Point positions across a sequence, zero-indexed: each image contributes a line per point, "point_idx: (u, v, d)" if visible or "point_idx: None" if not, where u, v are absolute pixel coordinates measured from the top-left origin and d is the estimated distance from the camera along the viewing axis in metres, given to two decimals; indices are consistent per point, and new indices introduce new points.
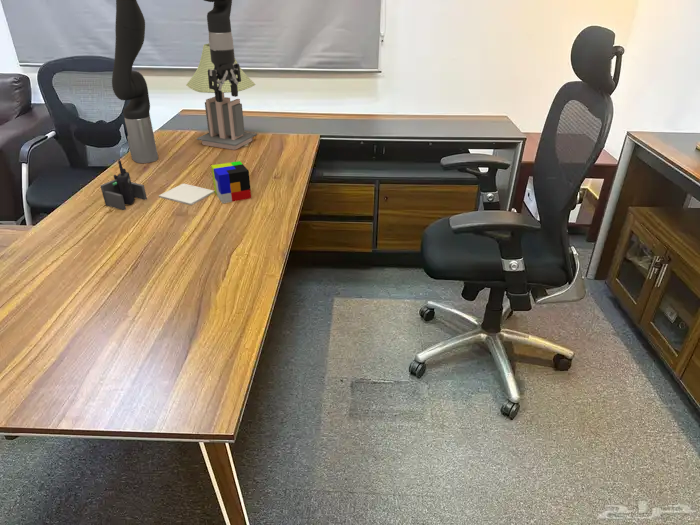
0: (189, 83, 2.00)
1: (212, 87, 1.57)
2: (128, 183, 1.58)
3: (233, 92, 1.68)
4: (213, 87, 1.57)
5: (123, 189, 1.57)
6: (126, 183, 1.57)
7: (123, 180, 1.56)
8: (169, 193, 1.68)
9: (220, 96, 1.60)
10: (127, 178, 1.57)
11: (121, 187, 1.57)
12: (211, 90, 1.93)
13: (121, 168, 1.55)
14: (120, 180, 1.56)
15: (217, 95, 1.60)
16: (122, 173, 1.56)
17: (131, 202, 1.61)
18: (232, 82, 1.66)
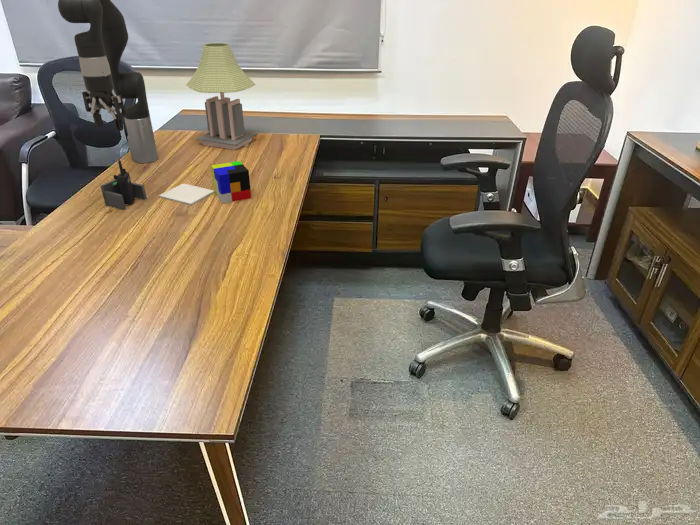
0: (189, 83, 2.00)
1: (122, 114, 1.44)
2: (128, 183, 1.58)
3: (99, 122, 1.50)
4: (124, 114, 1.45)
5: (123, 189, 1.57)
6: (126, 183, 1.57)
7: (123, 180, 1.56)
8: (169, 193, 1.68)
9: None
10: (127, 178, 1.57)
11: (121, 187, 1.57)
12: (211, 90, 1.93)
13: (121, 168, 1.55)
14: (120, 180, 1.56)
15: (121, 123, 1.47)
16: (122, 173, 1.56)
17: (131, 202, 1.61)
18: (95, 111, 1.48)
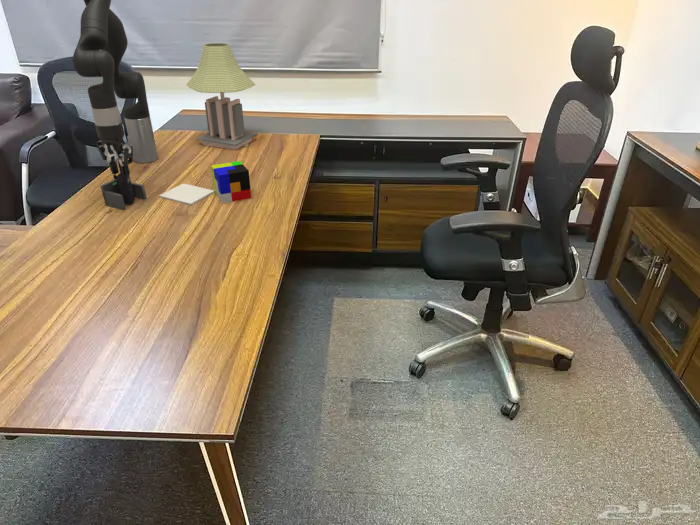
0: (189, 83, 2.00)
1: (129, 162, 1.53)
2: (128, 183, 1.58)
3: (115, 169, 1.57)
4: (130, 161, 1.53)
5: (123, 189, 1.57)
6: (126, 183, 1.57)
7: (123, 180, 1.56)
8: (169, 193, 1.68)
9: None
10: (127, 178, 1.57)
11: (121, 187, 1.57)
12: (211, 90, 1.93)
13: None
14: (120, 180, 1.56)
15: (127, 169, 1.55)
16: None
17: (131, 202, 1.61)
18: (111, 160, 1.55)
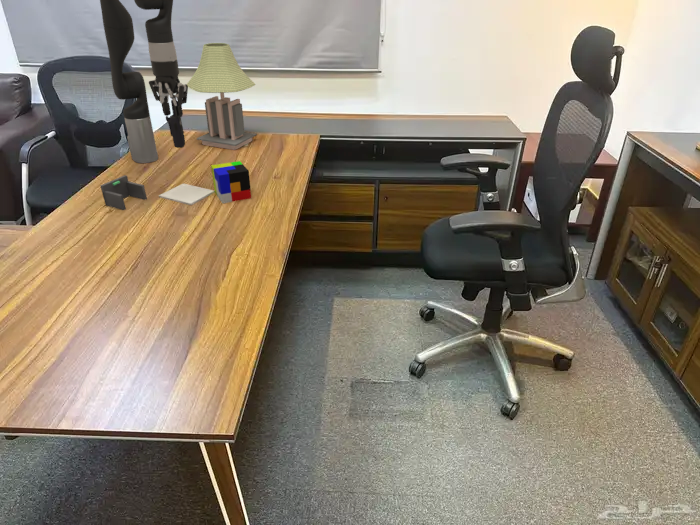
0: (189, 83, 2.00)
1: (183, 101, 1.50)
2: (180, 125, 1.55)
3: (167, 110, 1.54)
4: (184, 101, 1.50)
5: (175, 131, 1.54)
6: (178, 124, 1.54)
7: (176, 121, 1.53)
8: (169, 193, 1.68)
9: None
10: (179, 119, 1.54)
11: (173, 128, 1.54)
12: (211, 90, 1.93)
13: None
14: (173, 121, 1.53)
15: (181, 110, 1.52)
16: (174, 114, 1.53)
17: (182, 145, 1.58)
18: (164, 100, 1.53)
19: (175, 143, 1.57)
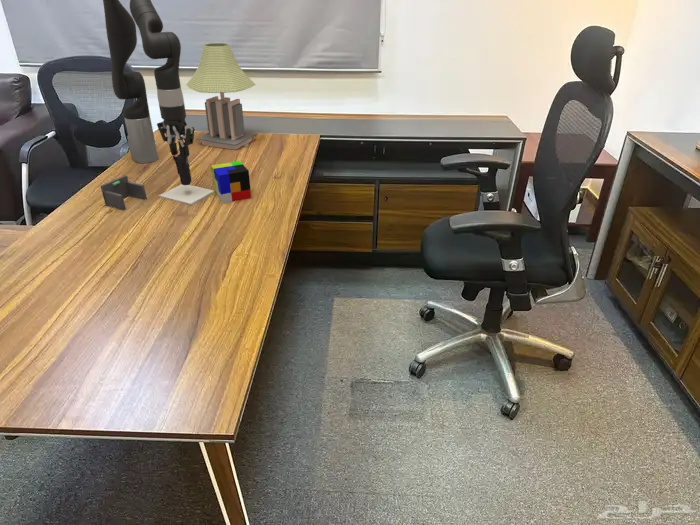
0: (189, 83, 2.00)
1: (190, 142, 1.57)
2: (187, 164, 1.62)
3: (174, 150, 1.61)
4: (191, 142, 1.57)
5: (182, 170, 1.61)
6: (185, 164, 1.61)
7: (182, 161, 1.60)
8: (169, 193, 1.68)
9: None
10: (186, 159, 1.61)
11: (180, 168, 1.61)
12: (211, 90, 1.93)
13: (181, 149, 1.59)
14: (180, 160, 1.60)
15: (187, 150, 1.59)
16: (181, 154, 1.60)
17: (189, 183, 1.65)
18: (171, 141, 1.59)
19: (182, 181, 1.64)
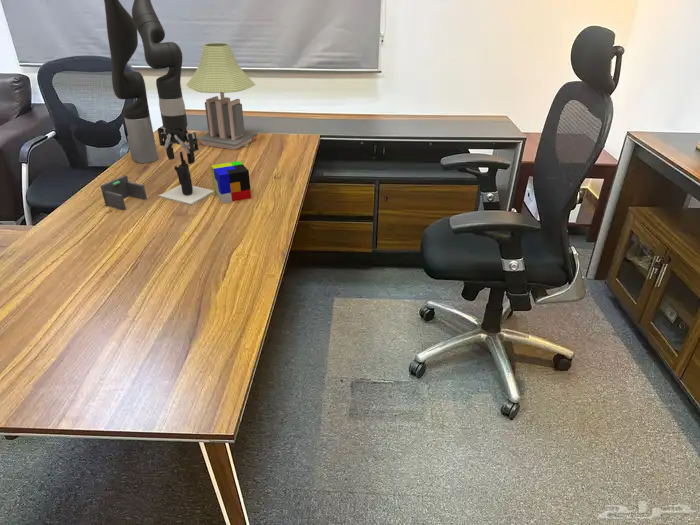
0: (189, 83, 2.00)
1: (195, 149, 1.57)
2: (188, 174, 1.64)
3: (171, 155, 1.63)
4: (196, 149, 1.57)
5: (183, 180, 1.63)
6: (186, 174, 1.63)
7: (184, 171, 1.62)
8: (169, 193, 1.68)
9: None
10: (187, 169, 1.63)
11: (182, 178, 1.63)
12: (211, 90, 1.93)
13: (182, 159, 1.61)
14: (181, 171, 1.62)
15: (193, 156, 1.59)
16: (183, 164, 1.62)
17: (190, 192, 1.67)
18: (168, 145, 1.61)
19: (183, 191, 1.66)
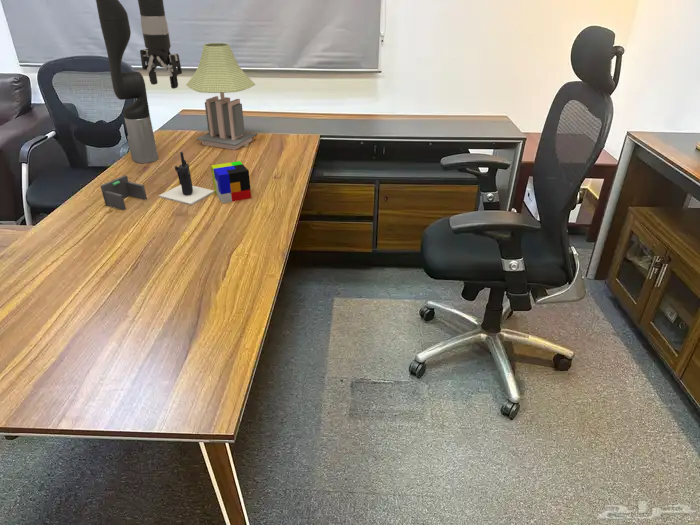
0: (189, 83, 2.00)
1: (178, 72, 1.54)
2: (188, 174, 1.64)
3: (154, 79, 1.59)
4: (180, 72, 1.54)
5: (184, 180, 1.63)
6: (187, 174, 1.63)
7: (184, 171, 1.62)
8: (169, 193, 1.68)
9: None
10: (188, 169, 1.63)
11: (182, 178, 1.63)
12: (211, 90, 1.93)
13: (183, 159, 1.61)
14: (182, 171, 1.62)
15: (176, 81, 1.56)
16: (183, 164, 1.62)
17: (190, 192, 1.67)
18: (151, 69, 1.58)
19: (183, 191, 1.66)
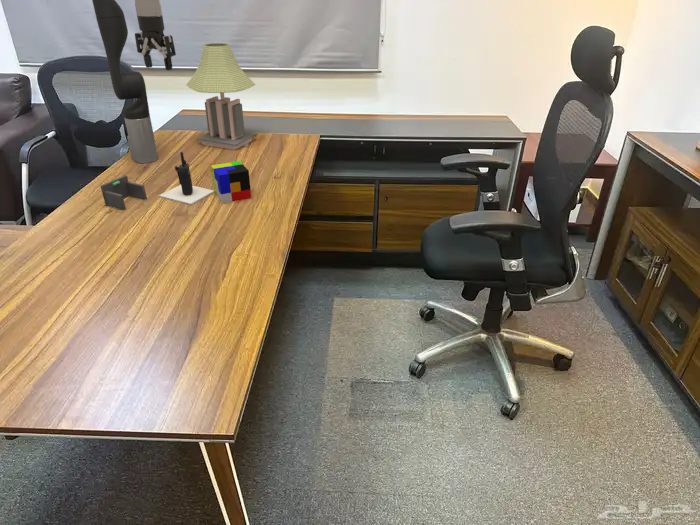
0: (189, 83, 2.00)
1: (172, 53, 1.57)
2: (188, 174, 1.64)
3: (149, 62, 1.63)
4: (173, 53, 1.57)
5: (184, 180, 1.63)
6: (187, 174, 1.63)
7: (184, 171, 1.62)
8: (169, 193, 1.68)
9: None
10: (188, 169, 1.63)
11: (182, 178, 1.63)
12: (211, 90, 1.93)
13: (183, 159, 1.61)
14: (182, 171, 1.62)
15: (170, 62, 1.59)
16: (183, 164, 1.62)
17: (190, 192, 1.67)
18: (146, 52, 1.61)
19: (183, 191, 1.66)
